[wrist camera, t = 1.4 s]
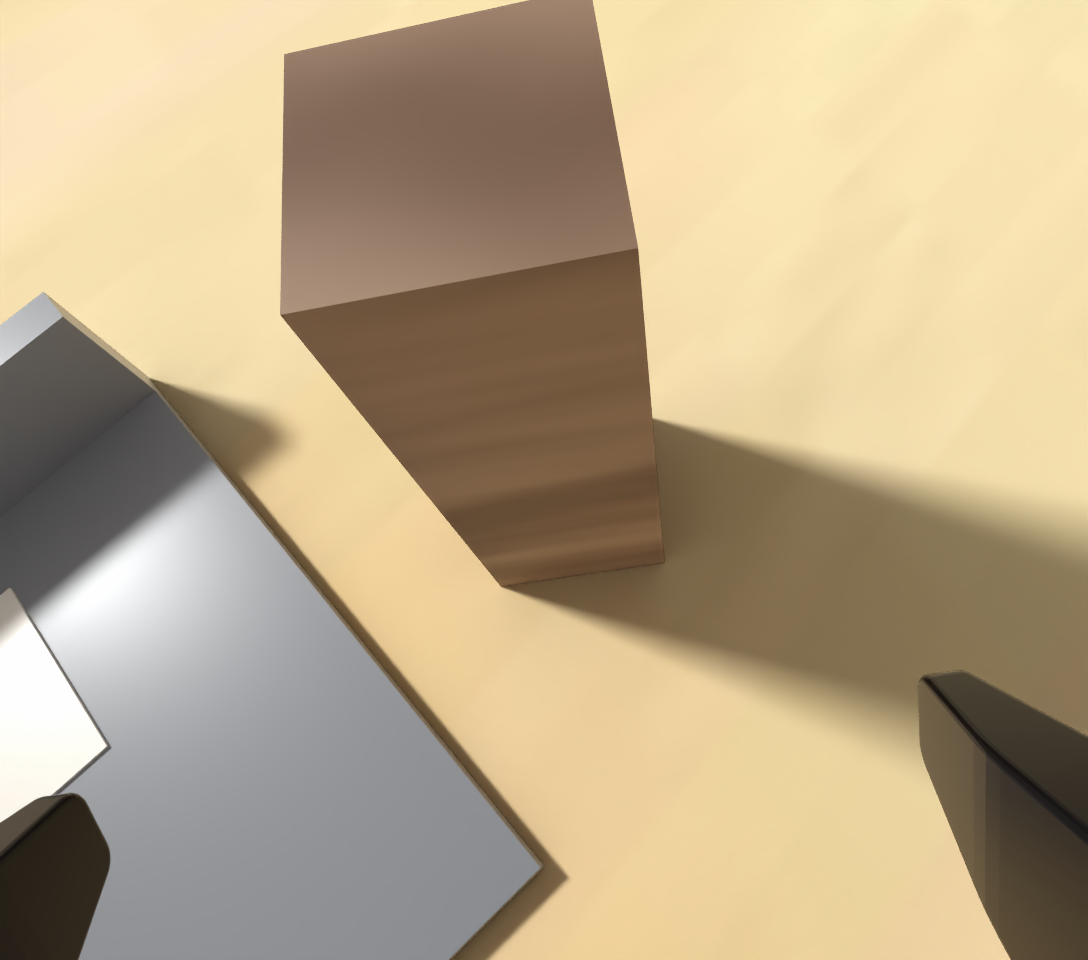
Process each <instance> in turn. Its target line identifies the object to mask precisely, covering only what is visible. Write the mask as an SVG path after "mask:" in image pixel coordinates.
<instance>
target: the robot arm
mask: <svg viewBox="0 0 1088 960" xmlns="http://www.w3.org/2000/svg"><path fill="white" fill-rule="evenodd" d="M918 705H919V735H920V747H921V752H922V756H923V760H924V763H925V766H926V768H927V771H928V773H929V776H930V778H931V781H932V783H933V786H934V788H935V791H936V793H937V795H938V798H939V800H940V803H941V805H942V808H943V810H944V813H945V815H946V817H947V820H948V822H949V825H950V827H951V830H952V832H953V835H954V837H955V839H956V842H957V844H958V847H959V849H960V852H961V854H962V857H963V859H964V861H965V864H966V866H967V869H968V871H969V874H970V876H971V879H972V881H973V884H974V886H975V888H976V891H977V893H978V895H979V898H980V900H981V902H982V905H983V907H984V909H985V911H986V913H987V915H988V917H989V919H990V921H991V923H992V925H993V927H994V929H995V931H996V933H997V935H998V937H999V939H1000V941H1001V943H1002V944H1003V946H1004V948H1005V950H1006V952H1007V954H1008V955H1009V957H1010V959H1011V960H1088V736H1087V735H1085V734H1083V733H1081V732H1079V731H1077V730H1075V729H1073V728H1072V727H1070V726H1068V725H1066V724H1064V723H1062V722H1060V721H1058V720H1057V719H1055V718H1053V717H1051V716H1049V715H1047V714H1045V713H1043V712H1042V711H1040V710H1038V709H1036V708H1034V707H1032V706H1030V705H1029V704H1027V703H1025V702H1023V701H1021V700H1019V699H1017V698H1015V697H1014V696H1012V695H1010V694H1008V693H1006V692H1004V691H1002V690H1000V689H999V688H997V687H995V686H993V685H991V684H989V683H987V682H985V681H984V680H982V679H980V678H978V677H976V676H974V675H972V674H971V673H968V672H966V671H962V670H954V671H947V672H940V673H933V674H926V675H924V676H923V677H922V678H921V679H920V681H919V685H918ZM110 862H111V857H110V849H109V846H108V843H107V841H106V839H105V837H104V835H103V833H102V832H101V830H100V828H99V826H98V824H97V822H96V820H95V818H94V816H93V814H92V812H91V810H90V808H89V806H88V804H87V802H86V801H85V799H84V798H83V797H81V796H80V795H79V794H76V793H64V794H57V795H49V796H44V797H40V798H37V799H35V800H34V801H32V802H30V803H29V804H27V805H26V806H24V807H23V808H21V809H20V810H18V811H17V812H15V813H14V814H12V815H11V816H9V817H8V818H6V819H5V820H3V821H2V822H0V960H79V957H80V954H81V951H82V948H83V945H84V942H85V939H86V937H87V934H88V931H89V928H90V925H91V922H92V919H93V916H94V913H95V910H96V907H97V905H98V902H99V899H100V896H101V893H102V890H103V887H104V884H105V881H106V878H107V876H108V872H109V869H110Z"/></svg>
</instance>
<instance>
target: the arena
mask: <svg viewBox="0 0 1088 960" xmlns="http://www.w3.org/2000/svg"><path fill="white" fill-rule="evenodd" d="M64 793H76V794H79V795H80V796H81V797H83V798H84V799H85V801H86V802H87V804H88V806H89V808H90V810H91V812H92V814H93V816H94V818H95V820H96V822H97V824H98V826H99V828H100V830H101V832H102V833H103V835H104V837H105V839H106V841H107V843H108V846H109V849H110V857H111V862H110V869H109V872H108V876H107V878H106V881H105V884H104V887H103V890H102V893H101V896H100V899H99V902H98V905H97V907H96V910H95V913H94V916H93V919H92V922H91V925H90V928H89V931H88V934H87V937H86V939H85V942H84V945H83V948H82V951H81V954H80V957H79V960H451V959H452V958H453V957H454V956H455V955H456V954H457V953H458V952H459V951H460V950H461V949H462V948H463V947H464V946H465V945H466V944H467V943H468V942H469V941H470V940H471V939H472V938H473V937H474V936H475V935H476V934H477V933H478V932H479V931H480V930H481V929H482V928H483V927H484V926H485V925H486V924H487V923H488V922H489V921H490V920H491V919H492V918H493V917H494V916H495V915H496V914H497V913H498V912H499V911H500V910H501V909H502V908H503V907H504V906H505V905H506V904H507V903H508V902H509V901H510V900H511V899H512V898H513V897H514V896H515V895H516V894H517V893H518V892H519V891H520V890H521V889H522V888H523V887H524V886H525V885H526V884H527V883H528V882H529V881H530V880H531V879H532V878H533V877H534V876H535V875H536V874H537V873H538V872H539V871H540V870H541V869H542V868H543V867H544V865H543V864H542V863H541V862H540V861H539V859H538V858H537V857H536V856H535V854H534V853H533V852H532V851H531V849H530V848H529V847H528V846H527V844H526V843H525V842H524V841H523V840H522V838H521V837H520V836H519V835H518V833H517V832H516V831H515V830H514V828H513V827H512V826H511V825H510V823H509V822H508V821H507V820H506V819H505V817H504V816H503V815H502V814H501V812H500V811H499V810H498V809H497V807H496V806H495V805H494V804H493V802H492V801H491V800H490V799H489V798H488V796H487V795H486V794H485V793H484V791H483V790H482V789H481V788H480V786H479V785H478V784H477V783H476V781H475V780H474V779H473V778H472V777H471V775H470V774H469V773H468V772H467V770H466V769H465V768H464V767H463V765H462V764H461V763H460V762H459V760H458V759H457V758H456V757H455V756H454V754H453V753H452V752H451V751H450V749H449V748H448V747H447V746H446V744H445V743H444V742H443V741H442V739H441V738H440V737H439V736H438V735H437V733H436V732H435V731H434V730H433V728H432V727H431V726H430V725H429V723H428V722H427V721H426V720H425V718H424V717H423V716H422V715H421V714H420V712H419V711H418V710H417V709H416V707H415V706H414V705H413V704H412V702H411V701H410V700H409V699H408V697H407V696H406V695H405V694H404V693H403V691H402V690H401V689H400V688H399V686H398V685H397V684H396V683H395V681H394V680H393V679H392V678H391V676H390V675H389V674H388V673H387V672H386V670H385V669H384V668H383V667H382V665H381V664H380V663H379V662H378V660H377V659H376V658H375V657H374V655H373V654H372V653H371V652H370V651H369V649H368V648H367V647H366V646H365V644H364V643H363V642H362V641H361V639H360V638H359V637H358V636H357V634H356V633H355V632H354V631H353V630H352V628H351V627H350V626H349V625H348V623H347V622H346V621H345V620H344V618H343V617H342V616H341V615H340V613H339V612H338V611H337V610H336V609H335V607H334V606H333V605H332V604H331V602H330V601H329V600H328V599H327V597H326V596H325V595H324V594H323V592H322V591H321V590H320V589H319V588H318V586H317V585H316V584H315V583H314V581H313V580H312V579H311V578H310V576H309V575H308V574H307V573H306V571H305V570H304V569H303V568H302V567H301V565H300V564H299V563H298V562H297V560H296V559H295V558H294V557H293V555H292V554H291V553H290V552H289V550H288V549H287V548H286V547H285V546H284V544H283V543H282V542H281V541H280V539H279V538H278V537H277V536H276V534H275V533H274V532H273V531H272V529H271V528H270V527H269V526H268V525H267V523H266V522H265V521H264V520H263V518H262V517H261V516H260V515H259V513H258V512H257V511H256V510H255V508H254V507H253V506H252V505H251V504H250V502H249V501H248V500H247V499H246V497H245V496H244V495H243V494H242V492H241V491H240V490H239V489H238V487H237V486H236V485H235V484H234V483H233V481H232V480H231V479H230V478H229V476H228V475H227V474H226V473H225V471H224V470H223V469H222V468H221V466H220V465H219V464H218V463H217V461H216V460H215V459H214V458H213V457H212V455H211V454H210V453H209V452H208V450H207V449H206V448H205V447H204V445H203V444H202V443H201V442H200V440H199V439H198V438H197V437H196V436H195V434H194V433H193V432H192V431H191V429H190V428H189V427H188V426H187V424H186V423H185V422H184V421H183V419H182V418H181V417H180V416H179V415H178V413H177V412H176V411H175V410H174V408H173V407H172V406H171V405H170V403H169V402H168V401H167V400H166V398H165V397H164V396H163V395H162V394H161V392H160V391H159V390H158V389H157V387H156V386H155V385H154V384H153V382H152V381H151V380H150V379H149V377H147V376H146V375H145V374H144V373H143V372H141V371H140V370H139V369H138V368H136V367H135V366H134V365H133V364H132V363H130V362H129V361H128V360H127V359H125V358H124V357H123V356H122V355H120V354H119V353H118V352H117V351H116V350H114V349H113V348H112V347H111V346H109V345H108V344H107V343H106V342H104V341H103V340H102V339H101V338H100V337H98V336H97V335H96V334H95V333H93V332H92V331H91V330H90V329H88V328H87V327H86V326H85V325H84V324H82V323H81V322H80V321H79V320H77V319H76V318H75V317H74V316H72V315H71V314H70V313H69V312H68V311H66V310H65V309H64V308H63V307H61V306H60V305H59V304H58V303H56V302H55V301H54V300H53V299H52V298H50V297H49V296H48V295H47V294H45V293H44V292H43V293H41V294H40V295H39V296H37V297H36V298H35V299H34V300H32V301H31V302H30V303H28V304H27V305H26V306H25V307H23V308H22V309H21V310H19V311H18V312H17V313H16V314H14V315H13V316H12V317H10V318H9V319H8V320H7V321H5V322H4V323H3V324H1V325H0V822H2V821H3V820H5V819H6V818H8V817H9V816H11V815H12V814H14V813H15V812H17V811H18V810H20V809H21V808H23V807H24V806H26V805H27V804H29V803H30V802H32V801H34V800H35V799H37V798H40V797H44V796H49V795H57V794H64Z"/></svg>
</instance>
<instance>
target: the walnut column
mask: <svg viewBox="0 0 1088 960" xmlns="http://www.w3.org/2000/svg"><path fill="white" fill-rule="evenodd" d="M280 315H281V316H282V318H283V319H284V320H285V321H286V322H287V324H288V325H289V326H290V327H291V329H292V330H293V331H294V332H295V334H296V335H297V336H298V337H299V338H300V340H301V341H302V342H303V343H304V345H305V346H306V347H307V348H308V350H309V351H310V352H311V353H312V354H313V356H314V357H315V358H316V359H317V361H318V362H319V363H320V364H321V366H322V367H323V368H324V369H325V370H326V372H327V373H328V374H329V375H330V377H331V378H332V379H333V380H334V382H335V383H336V384H337V385H338V386H339V388H340V389H341V390H342V391H343V393H344V394H345V395H346V396H347V398H348V399H349V400H350V401H351V402H352V404H353V405H354V406H355V407H356V409H357V410H358V411H359V412H360V414H361V415H362V416H363V417H364V418H365V420H366V421H367V422H368V423H369V425H370V426H371V427H372V428H373V430H374V431H375V432H376V433H377V434H378V436H379V437H380V438H381V439H382V441H383V442H384V443H385V444H386V446H387V447H388V448H389V449H390V450H391V452H392V453H393V454H394V455H395V457H396V458H397V459H398V460H399V462H400V463H401V464H402V465H403V466H404V468H405V469H406V470H407V471H408V473H409V474H410V475H411V476H412V478H413V479H414V480H415V481H416V482H417V484H418V485H419V486H420V487H421V489H422V490H423V491H424V492H425V494H426V495H427V496H428V497H429V498H430V500H431V501H432V502H433V503H434V505H435V506H436V507H437V508H438V510H439V511H440V512H441V513H442V514H443V516H444V517H445V518H446V519H447V521H448V522H449V523H450V524H451V526H452V527H453V528H454V529H455V530H456V532H457V533H458V534H459V535H460V537H461V538H462V539H463V540H464V542H465V543H466V544H467V545H468V546H469V548H470V549H471V550H472V551H473V553H474V554H475V555H476V556H477V558H478V559H479V560H480V561H481V562H482V564H483V565H484V566H485V567H486V569H487V570H488V571H489V572H490V574H491V575H492V576H493V577H494V579H495V580H496V581H497V582H498V583H499V585H500V586H501V587H503V586H509V585H516V584H523V583H530V582H536V581H543V580H550V579H557V578H563V577H570V576H577V575H584V574H591V573H597V572H604V571H611V570H618V569H624V568H631V567H638V566H645V565H651V564H658V563H664V551H663V539H662V528H661V516H660V504H659V492H658V480H657V468H656V456H655V444H654V432H653V420H652V408H651V397H650V385H649V373H648V361H647V349H646V337H645V325H644V313H643V301H642V289H641V277H640V265H639V254H638V245H637V240H636V234H635V229H634V223H633V218H632V213H631V207H630V202H629V196H628V191H627V185H626V180H625V175H624V169H623V164H622V158H621V153H620V148H619V142H618V137H617V131H616V126H615V120H614V115H613V110H612V104H611V99H610V93H609V88H608V82H607V77H606V72H605V66H604V61H603V55H602V50H601V45H600V39H599V34H598V28H597V23H596V17H595V12H594V7H593V1H592V0H528V1H524V2H519V3H515V4H510V5H506V6H501V7H497V8H492V9H488V10H483V11H479V12H474V13H470V14H465V15H460V16H456V17H451V18H447V19H442V20H438V21H433V22H429V23H424V24H420V25H415V26H411V27H406V28H402V29H397V30H392V31H388V32H383V33H379V34H374V35H370V36H365V37H361V38H356V39H352V40H347V41H343V42H338V43H334V44H329V45H324V46H320V47H315V48H311V49H306V50H302V51H297V52H293V53H288V54H284V113H283V177H282V240H281V304H280Z"/></svg>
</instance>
